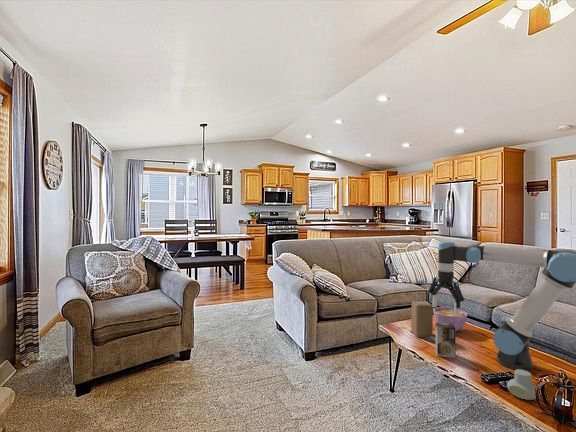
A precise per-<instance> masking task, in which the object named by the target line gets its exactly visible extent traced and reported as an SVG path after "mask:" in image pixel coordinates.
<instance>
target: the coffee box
mask: <svg viewBox="0 0 576 432" xmlns="http://www.w3.org/2000/svg"><path fill="white" fill-rule="evenodd" d="M434 326H435V329H434V330H435V333H434V334H435V336H434V337H435V343H434V344H435V349H434V350H435V354H436V356H437V357H442V358H451V359H452V358H453V359H456V357H457V356H456V355H457V354H456V352H457V351H456V349H457V348H456V346H457V344H456V337H457V336H456V334H457V333H456V332H457V331H456V328H455V326H454V325H453V324H446V323H436V322H435V325H434Z"/></svg>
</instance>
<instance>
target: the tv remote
mask: <svg viewBox="0 0 576 432" xmlns="http://www.w3.org/2000/svg"><path fill="white" fill-rule="evenodd" d="M424 339H425V341H428V342H430V343H433V344H435V336H426V337H424Z"/></svg>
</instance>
